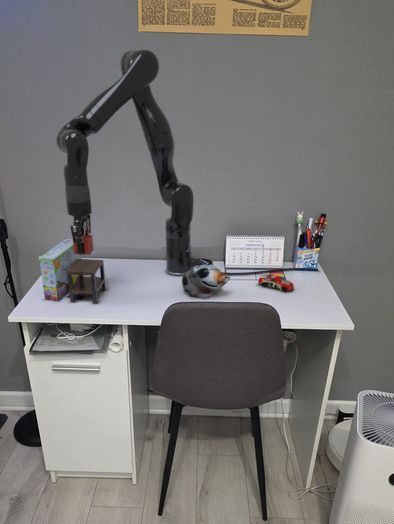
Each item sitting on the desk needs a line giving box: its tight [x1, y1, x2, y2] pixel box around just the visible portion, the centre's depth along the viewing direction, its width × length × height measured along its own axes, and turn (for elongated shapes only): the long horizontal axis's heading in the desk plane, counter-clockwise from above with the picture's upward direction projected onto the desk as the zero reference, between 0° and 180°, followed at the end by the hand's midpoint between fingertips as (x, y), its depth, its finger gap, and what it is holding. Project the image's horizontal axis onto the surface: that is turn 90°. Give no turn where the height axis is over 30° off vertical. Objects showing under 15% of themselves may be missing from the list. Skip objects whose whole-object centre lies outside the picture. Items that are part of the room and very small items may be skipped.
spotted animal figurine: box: [181, 263, 231, 299], centre depth 169 cm, size 15×12×14 cm
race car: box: [257, 274, 295, 293], centre depth 177 cm, size 13×5×4 cm, turn 57°
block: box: [73, 234, 94, 256], centre depth 160 cm, size 5×5×5 cm
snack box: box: [39, 238, 82, 302], centre depth 171 cm, size 21×6×15 cm, turn 168°
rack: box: [67, 258, 107, 304], centre depth 167 cm, size 9×12×11 cm
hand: (84, 250), depth 161 cm, fingers closed on block, 5 cm apart
